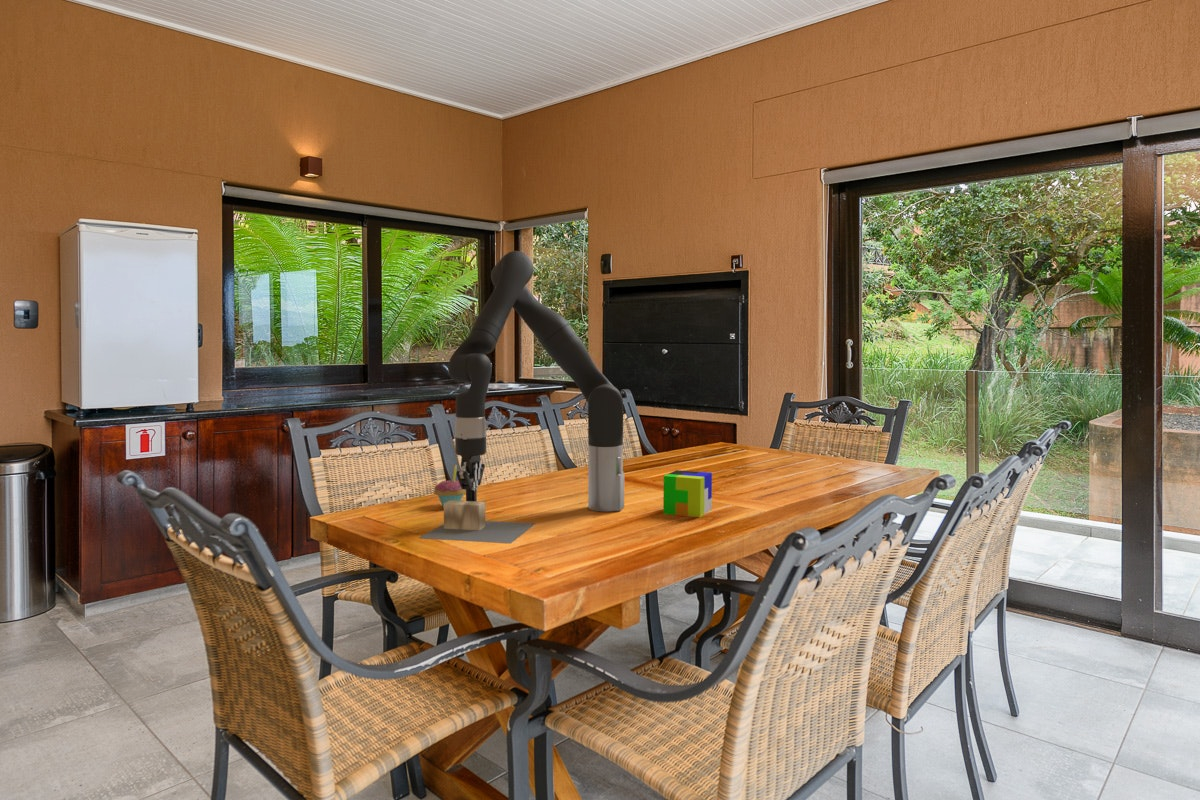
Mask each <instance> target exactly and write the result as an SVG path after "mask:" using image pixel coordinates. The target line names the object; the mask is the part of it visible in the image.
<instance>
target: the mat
mask: <svg viewBox="0 0 1200 800" xmlns="http://www.w3.org/2000/svg"><path fill="white" fill-rule="evenodd" d="M536 524H537V523H534V522H517V521H516V522H515V521H514V522H512V521H496V520H486V526H485V527H484V528H482V529H481V530H462V529H444V523H442V524H441V525H439V526H437V527H436V528H433V529H431V531H429V532H426V533H425V534H423V535H421V536H419V537H418V539H426V540H427V539H428V540H443V541H444V540H445V541H458V542H459V541H463V542H476V543H477V542H478V543H479V542H480V543H481V542H482V543H493V544H494V543H497V544H512V543H514V542H515V541H516V540H517V539H518V538H520V537H521V536H522V535H523V534H525V533H527V531H529V530H531V528H532V527H534V526H535V525H536Z"/></svg>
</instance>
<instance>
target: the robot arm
mask: <svg viewBox="0 0 1200 800" xmlns="http://www.w3.org/2000/svg"><path fill="white" fill-rule="evenodd" d="M534 271H535V270H534V264H533V261H532V259H531V258H530V257H529V255H527V254H526V253H525V252H522V251H519V250H513V251H509V252H508V253H505V254H504V255H503V256H502V257H501V258H500V259H499V260H498V262H497V263H496V264H495V265H494V266H493V268H492V269H491V271H490V278H491V279H490V280H491V282H492V285H493V286H494V288H493V291H492V293H491V294H490V295H489V298H488V299H487V301H486V302H485V304H484V305H483V307H482V308H481V310H480V312H479V314H478V316H477V318H476V319H475V321H474V324H473V325H472V328H471V330H470V332H469V335H468V336H467V337H466V338H465V339H464V340H463V342H462V343H461V344H460V345H459V346H458V347H457V348H456V349H455V350H454V352H453V353H452V354H451V356H450V359H449V362H448V365H447V371H448V375H449V377H450V379H451V380H453V381H455V382H459V383H470V385H469V389H468V391H467V390H466V391H462V392H459V393H458V394H457V395H456V396H455V423H454V441H455V442H454V451H455V452H454V453H455V454H456V455H457V456H460V457H461V460H460V470H456V477H457V481H459V483H460V485H461V488H462V489H464V490H466V493H465V501H476V502H478V501H477V500H478V498H477V496H478V495H477V494H478V493H477V490H478V488H479V486H481V484H482V480H483V475H484V472H485V467H486V465H485V463H482V457H481V456H484V455H486V453H487V423H486V422H487V421H486V399H487V397H486V396H487V393H488V388H489V385H490V382H491V378H492V371H493V366H492V362H491V360H490V358H489V357H488V356H487V355H488V354H491V353H492V352H493V351H494V349H495V347H496V345H497V343H498V341H499V338H500V337H501V334H502V332H503V330H504V327H505V324H506V323H507V320H508V318H509V316H510V313H511V311H512V310H514V311H515V312H516V313H517V314H518V315H519V317H520V318H521V319H522V321H523V322H524V324H525V325H526V326H527V327H528V329H530V331H531V332H532V334H534V336H535V337H536V339H537V340H538V342H539V343H540V345H541V346H542V347H543V348H544V350H545V352H546V353H547V354H548V355H549V357H550V358H551V359H552V360H553V361H554V363H555V364H557V366H558V367H559V368H560V369H561V370H562V371H564V372H565V374H566V375H568V377H569V378H571V380H572V381H573V382H574V383H575V384H576V386H577V387H578V389H579V391H580V392H581V394H582V395H583V397H584V399H585V400H586V402H587V425H588V426H587V437H588V438H587V439H588V441H587V442H588V445H587V446H588V452H587V453H588V461H587V463H588V465H587V466H588V478H587V479H588V481H587V482H588V487H587V489H588V490H587V492H588V499H587V502H588V505H587V507H588V509H589V510H591V511H595V512H621V511H622V510H623V508H624V507H625V471H623V469H624V467H623V464H624V462H623V461H624V460H623V457H624V453H623V447H624V446H623V445H624V441H623V440H624V399H623V396H622V394H621V391H620V390H619V389H618V388H617V387H616V386H614V384H612V383H611V382H610V381H609V379H608V378H607V377H606V375H604V374H603V372H602V371H601V370H600V369H599V368H598V366H597V365H596V363H595V362H594V361H593V359H592V357H591V355H590V353H589V351H588V350H587V348H586V346H585V345H584V343H583V342H582V340H581V338H580V337H579V335H578V334H577V332H576V330H574V328H573V327H572V326H571V325H570V323H569V321H568V320H566V318H564V316H562V315H561V314H560V313H558V312H556V311H554V310H553V309H552V308H550V307H547V306H546V305H544V304H542V303H541V302H540V301H539V300H538V299H537V298H536V297H535V295H534V294H533V293H532V291H531V290H530V289H529V287H528V286H527V284H528V283H529V282H530V280H531V279H532V276H533V275H534Z"/></svg>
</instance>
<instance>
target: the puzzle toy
mask: <svg viewBox="0 0 1200 800" xmlns="http://www.w3.org/2000/svg"><path fill="white" fill-rule="evenodd" d="M712 480H713V473H712V472H705V471H692V470H679V469H676V470H673V471H672V472H669V473H668V474H665V475H663V503H662V504H663V507H662V508H663V512H662V513H663V514H664V515H673V516H674V515H675V516H684V517H685V516H686V517H694V518H701V517H703V516H705V515H706V514H707V513H709V512H710V511H712V510H713V509H712V501H713V500H712V499H713V498H712V497H713V495H712V494H713V491H712V490H713V486H712V485H713V481H712Z"/></svg>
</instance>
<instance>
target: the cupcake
mask: <svg viewBox="0 0 1200 800" xmlns="http://www.w3.org/2000/svg"><path fill="white" fill-rule="evenodd" d="M457 464H458V463H457V462H456V463H455V465H454V468H453V475H452V480H443V481H441V482H439V483H438V484H436V486H435V487H434V491H433V493H434V494H435V495H437V497H438V498H439V501H440V503H441V506H443V508H444V503H446V502H448V501H450V500H454V501H463V496H464V495H466V490H464V489H462V488H461V485H460V483H459V480H458V479H457V480H456V477H457V475H456V473H457V469H458V468H457V467H458V466H457Z"/></svg>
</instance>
